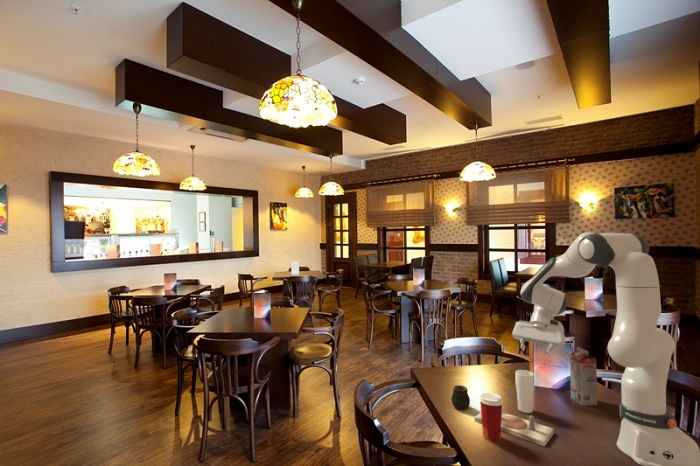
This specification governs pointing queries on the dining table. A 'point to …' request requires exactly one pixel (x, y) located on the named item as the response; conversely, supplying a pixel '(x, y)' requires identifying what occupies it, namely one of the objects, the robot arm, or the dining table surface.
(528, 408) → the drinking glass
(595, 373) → the juice carton
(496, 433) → the paper cup
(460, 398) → the mate gourd
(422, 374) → the dining table surface
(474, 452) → the dining table surface
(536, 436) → the pin board
